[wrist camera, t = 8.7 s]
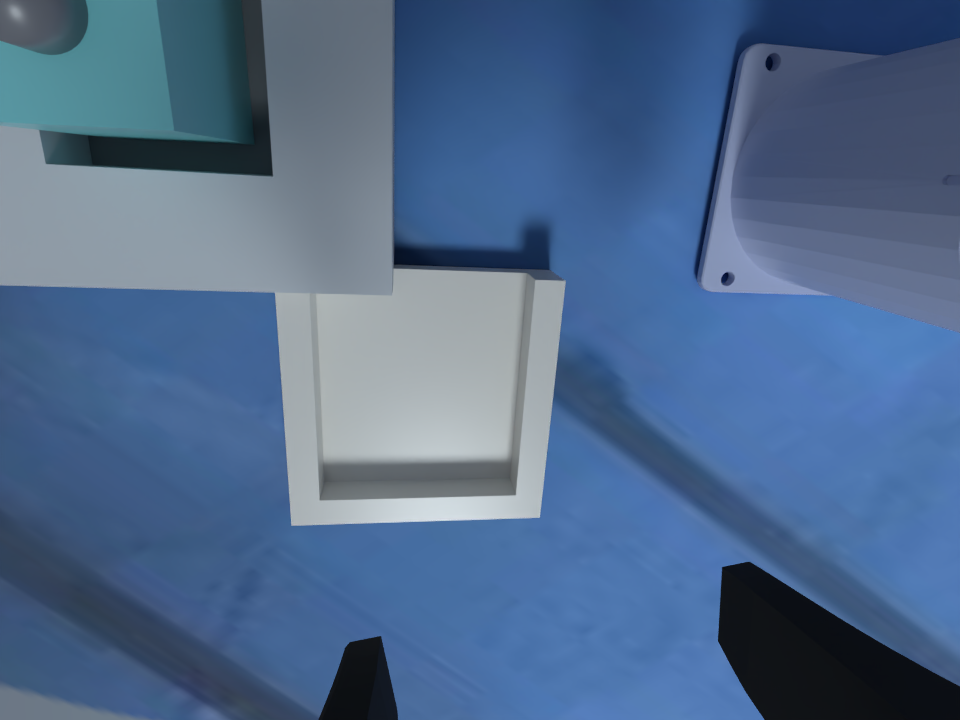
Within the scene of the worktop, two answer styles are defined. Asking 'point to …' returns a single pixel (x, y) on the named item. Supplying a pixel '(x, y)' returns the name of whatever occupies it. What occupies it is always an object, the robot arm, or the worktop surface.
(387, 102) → the port
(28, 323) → the worktop surface
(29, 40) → the plug
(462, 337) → the white square tray
